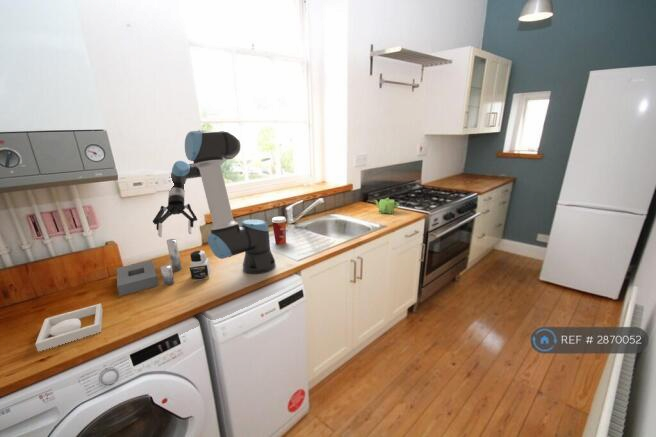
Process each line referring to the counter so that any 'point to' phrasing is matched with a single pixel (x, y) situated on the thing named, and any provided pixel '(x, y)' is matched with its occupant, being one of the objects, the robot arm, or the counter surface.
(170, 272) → the silver upright block
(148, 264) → the bored block
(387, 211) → the kettle
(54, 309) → the counter surface
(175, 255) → the tall steel pin
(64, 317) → the grey rectangular frame
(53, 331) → the white rounded block
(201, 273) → the medicine bottle
